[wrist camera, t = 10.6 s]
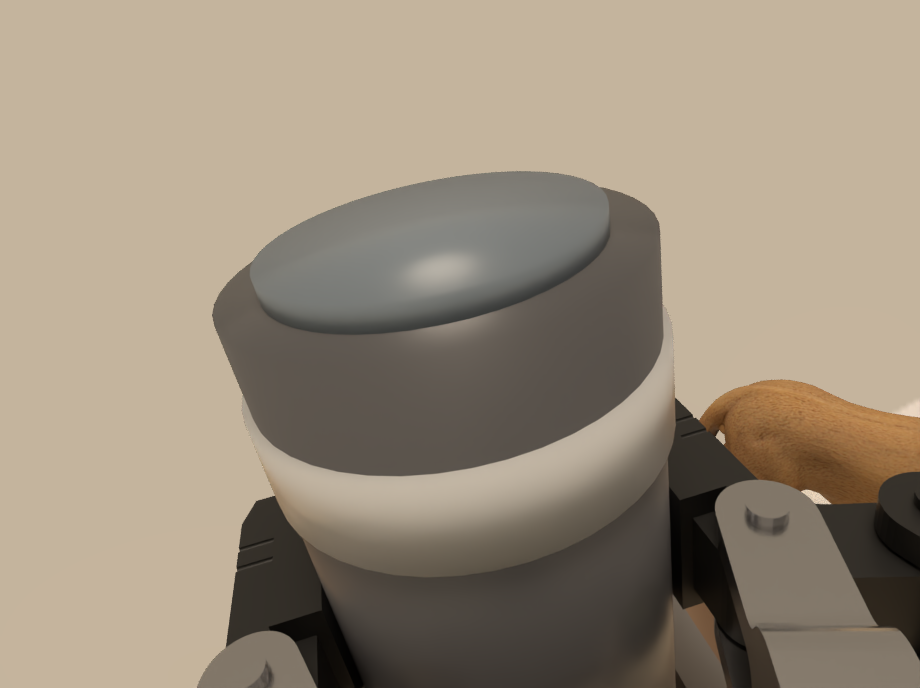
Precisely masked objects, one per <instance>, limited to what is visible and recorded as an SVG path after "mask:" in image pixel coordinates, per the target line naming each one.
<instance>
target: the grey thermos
mask: <svg viewBox="0 0 920 688" xmlns="http://www.w3.org/2000/svg"><path fill="white" fill-rule="evenodd" d="M660 250H661V247H660V228H659V222H658V220H657V218H656V216H655V214H654V213H653V212H652V211H651V210H650V209H649V208H648V207H647V206H646V205H645V204H643V203H641V202H640V201H638V200H636V199H635V198H633V197H630V196H628V195H625V194H623V193H620V192H617V191H613V190H610V189H606V188H601V187H598V186H596V185H595V184H594V183H591V182H589V181H586V180H584V179H581V178H577V177H574V176H569V175H564V174H558V173H548V172H530V171H529V172H528V171H519V172H518V171H517V172H493V173H482V174H472V175H464V176H456V177H450V178H444V179H438V180H433V181H427V182H423V183H418V184H413V185H409V186H404V187H400V188H396V189H392V190H388V191H385V192H381V193H378V194H374V195H371V196H368V197H364V198H361V199H358V200H355V201H352V202H349V203H347V204H344V205H341V206H338V207H336V208H333V209H331V210H328V211H326V212H324V213H321V214H319V215H317V216H315V217H312V218H310V219H308V220H306V221H304V222H302V223H300V224H298V225H296V226H295V227H293V228H291V229H289V230H288V231H286V232H284V233H283V234H281V235H280V236H278V237H277V238H275V239H274V240H273V241H271V242H270V243H269V244H268V245H266V246H265V248H263V249H262V250H261V251H260V252H259V253H258V255H257V256H256V257H255V259H254V260H253V261H252V262H251V263H250V264H249V265H247V266H246V267H245V268H244V269H242V270H241V271H239V272H238V273H237V274H236V275H235V277H233V278H232V279H231V280H230V281H229V282H228V283H227V284H226V286H225V287H224V288H223V290H222V291H221V292H220V294H219V296H218V298H217V300H216V302H215V304H214V309H213V314H212V316H213V321H214V326H215V328H216V331H217V333H218V336H219V338H220V340H221V343H222V345H223V348H224V350H225V353H226V355H227V357H228V360H229V362H230V365H231V367H232V370H233V372H234V374H235V377H236V379H237V382H238V384H239V386H240V389H241V391H242V394H243V396H242V414H243V418H244V423H245V426H246V428H247V431H248V433H249V435H250V438H251V440H252V442H253V444H254V447H255V449H256V452H257V454H258V456H259V459H260V461H261V464H262V466H263V468H264V471H265V473H266V475H267V478H268V480H269V482H270V485H271V487H272V489H273V492H274V494H275V496H276V499H277V501H278V504H279V506H280V508H281V510H282V511H283V513H284V515H285V517H286V519H287V521H288V522H289V523H290V525H291V526H292V527H293V528H294V529H295V530H296V532H297V533H298V534H299V535H300V536H301V537H302V538H303V541H304V543H305V545H306V548H307V550H308V553H309V555H310V557H311V560H312V562H313V565H314V567H315V569H316V572H317V574H318V577H319V579H320V581H321V584H322V586H323V589H324V591H325V594H326V596H327V598H328V601H329V603H330V606H331V608H332V610H333V613H334V615H335V618H336V620H337V622H338V625H339V627H340V630H341V632H342V634H343V637H344V639H345V642H346V644H347V646H348V649H349V651H350V654H351V656H352V659H353V661H354V663H355V666H356V668H357V671H358V673H359V675H360V678H361V680H362V683H363V685H364V687H365V688H676V680H675V651H674V622H673V594H672V565H671V536H670V507H669V478H668V455H669V453H670V450H671V447H672V445H673V440H674V433H675V426H676V423H675V388H674V387H675V386H674V349H673V331H672V322H671V319H670V317H669V314H668V312H667V309H666V308H665V307H664V305H663V304H662V276H661V251H660Z"/></svg>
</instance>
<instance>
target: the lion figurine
mask: <svg viewBox="0 0 920 688" xmlns="http://www.w3.org/2000/svg"><path fill="white" fill-rule="evenodd" d="M699 421H700V422H701V423H702V424H703V425H704V426H705V427H706V430H707V432H708V431H710V432H711V433H712V434H713V435H714V436H716V435H717V433H718V431H719V430H720V431H721V432H722V433H723V434H725V441H726V443H725V444H724V446H725V447H726V448H727V449H728V450H729V451H730V452H731V453H732V454H733V455H734V456H735V457H736V458H737V459H738V460H739V461H740V462H741V463H742V464H743V465H744V466H745V467H746V468H747V469H748V470H749V471H750V472H751V473H752V474H753V475H754V476H755V477H756V478H757V479H758V480H768V481H774V482H779V483H782V484H785V485H788V486H790V487H793V488H795V489H797V490H799V491H800V492H801V491H803V490H806V489H807V490H812V491H815V492H817V493H820V494H821V495H822V496H823V497H824V498H825V499H827V500H828V501H829V502H830V503H831V504H853V503H877V498H878V493H879V489H880V487H881V485H882V484H883V482H885V481H886V480H887V479H888V478H890V477H892V476H894V475H898V474H901V473H907V472H920V418H918V417H910V416H904V415H898V414H892V413H887V412H882V411H877V410H874V409H870V408H866V407H862V406H860V405H856V404H853V403H850V402H847V401H845V400H843V399H841V398H838V397H836V396H834V395H832V394H830V393H828V392H826V391H824V390H822V389H819V388H817V387H815V386H813V385H809V384H806V383H802V382H797V381H791V380H767V381H760V382H756V383H753V384H751V385H749V386H744V387H739V388H736V389H733V390H731V391H729V392H727V393H725V394H724V395H722V396H720V397H719V398H718V399H716V400H715V401H714V402H713V404H711V406H710V407H709V408H708V409H707V410H706V411H705V413H704V414H703V416H702V417H701V418H700V420H699Z"/></svg>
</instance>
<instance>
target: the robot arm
mask: <svg viewBox="0 0 920 688" xmlns="http://www.w3.org/2000/svg"><path fill="white" fill-rule="evenodd" d="M675 423H676V426H675V433H674V440H673V445H672V447H671V450H670V453H669V455H668V478H669V507H670V536H671V565H672V594H673V595H674V597H675V598H676V600H677V601H678V603H679V604H680V606H681V607H682V609H686V608H689V607H692V606H695V605H698V604H701V603H705V605H706V606H707V608H708V609H709V610H710V612H711V613H712V615H713V616H714V635H715V640H716V644H717V648H718V652H719V657H720V661H721V665H722V669H723V673H724V677H725V682H726V686H727V688H920V472H907V473H901V474H898V475H894V476H892V477H890V478H888V479H887V480H886V481H885V482H883V484H882V485H881V487H880V489H879V493H878V498H877V503H853V504H815V503H814V502H813V501H812V500H811V499H810V498H809V497H807V496H806V495H805V494H803V493H802V492H800V491H799V490H797V489H795V488H793V487H790V486H788V485H785V484H782V483H779V482H774V481H768V480H758V479H757V478H756V477H755V476H754V475H753V474H752V473H751V472H750V471H749V470H748V469H747V468H746V467H745V466H744V465H743V464H742V463H741V462H740V461H739V460H738V459H737V458H736V457H735V456H734V455H733V454H732V453H731V452H730V451H729V450H728V449H727V448H726V447H725V446H724V445H723V444H722V443H721V442H720V441H719V440H718V439H716V437H715V436H714V435H713V434H712V433H711V432H710V431H708V432H707V430H706V427H705V426H704V425H703V424H702V423H701V422H700V421H699V420H698V419H696V418H693V415H692V414H691V413H690V412H689V411H688V410H687V409H686V408H685V407H684V406H683V405H682V404H681V403H680V402H679V401H678V400H677V399H676V398H675ZM239 549H240V552H239V553H238V559H237V572H236V575H235V583H234V590H233V597H232V605H231V613H230V620H229V628H228V635H227V643H226V648H225V649H224V650H223V651H221V653H219V654H218V655H217V656H216V657H215V658H214V659H213V661H212V662H211V663H210V664H209V666H208V667H207V668H206V670H205V672H204V673H203V675H202V677H201V679H200V681H199V684H198V686H197V688H364V685H363V683H362V680H361V678H360V675H359V673H358V671H357V668H356V666H355V663H354V661H353V659H352V656H351V654H350V651H349V649H348V646H347V644H346V642H345V639H344V637H343V634H342V632H341V630H340V627H339V625H338V622H337V620H336V618H335V615H334V613H333V610H332V608H331V606H330V603H329V601H328V598H327V596H326V594H325V591H324V589H323V586H322V584H321V581H320V579H319V577H318V574H317V572H316V569H315V567H314V565H313V562H312V560H311V557H310V555H309V553H308V550H307V548H306V545H305V543H304V541H303V538H302V537H301V536H300V535H299V534H298V533H297V532H296V530H295V529H294V528H293V527H292V526H291V525H290V523H289V522H288V521H287V519H286V517H285V515H284V513H283V511H282V510H281V508H280V506H279V504H278V501H277V499H276V496H272V497H269V498H266V499H262V500H259V501H256V503H255V504H254V506H253V508H252V509H251V511H250V513H249V514H248V516H247V517H246V519H245V521H244V522H243V524H242V529H241V537H240V545H239Z"/></svg>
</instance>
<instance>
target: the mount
mask: <svg viewBox="0 0 920 688" xmlns="http://www.w3.org/2000/svg"><path fill="white" fill-rule="evenodd" d="M673 622H674V651H675V680H676V688H727V686H726V682H725V677H724V673H723V669H722V665H721V661H720V657H719V652H718V648H717V644H716V640H715V635H714V616H713V615H712V613H711V612H710V610H709V609H708V608H707V606H706V605H705V603H701V604H698V605H695V606H692V607H689V608H686V609H682V607H681V606H680V604H679V603H678V601H677V600H676V598H675V597H674V595H673ZM364 688H365V687H364Z"/></svg>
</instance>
